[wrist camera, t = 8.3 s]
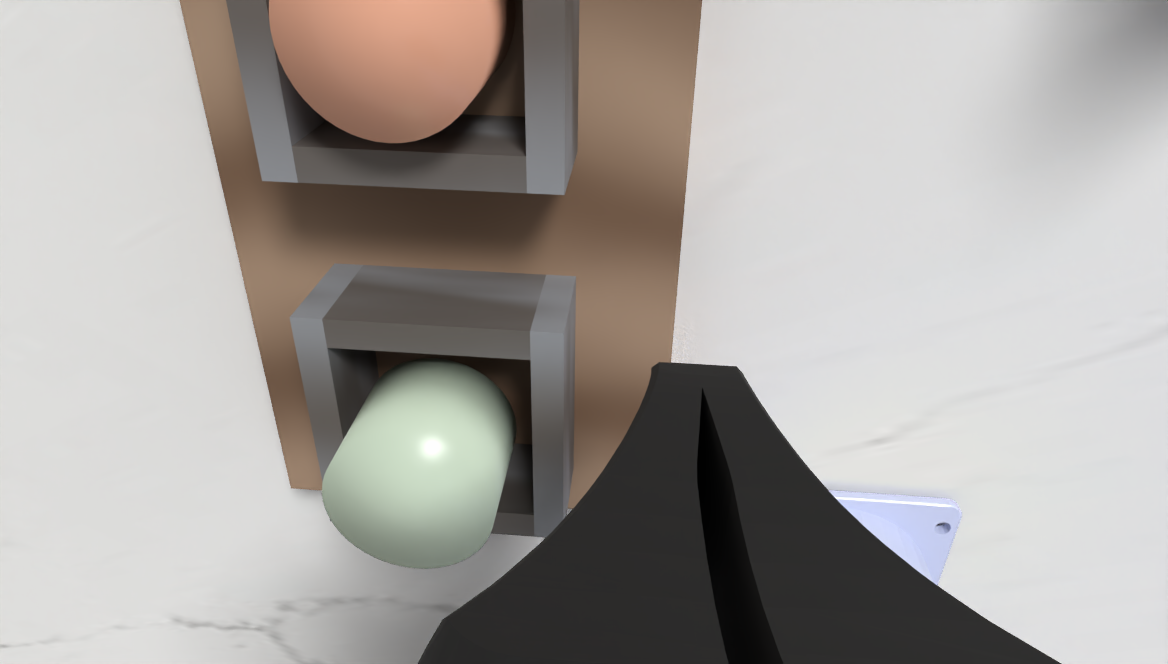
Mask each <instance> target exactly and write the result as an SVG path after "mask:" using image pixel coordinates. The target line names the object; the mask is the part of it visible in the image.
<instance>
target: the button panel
mask: <svg viewBox="0 0 1168 664" xmlns="http://www.w3.org/2000/svg"><path fill="white" fill-rule="evenodd" d="M180 4H181V9H182V13H183V17H184V22H185V26H186V30H187V35H188V39H189V44H190V48H191V52H192V57H193V61H194V65H195V70H196V74H197V79H198V83H199V87H200V92H201V96H202V101H203V105H204V109H205V114H206V118H207V122H208V127H209V131H210V136H211V140H212V144H213V149H214V153H215V157H216V162H217V166H218V171H219V175H220V179H221V184H222V188H223V192H224V197H225V201H226V206H227V210H228V214H229V219H230V223H231V227H232V232H233V236H234V241H235V245H236V249H237V254H238V258H239V262H240V267H241V271H242V276H243V280H244V284H245V289H246V293H247V297H248V302H249V306H250V311H251V315H252V319H253V324H254V328H255V332H256V337H257V341H258V346H259V350H260V354H261V359H262V363H263V368H264V372H265V376H266V381H267V385H268V389H269V394H270V398H271V403H272V407H273V411H274V416H275V420H276V424H277V429H278V433H279V438H280V442H281V446H282V451H283V455H284V459H285V464H286V468H287V473H288V477H289V481H290V486H291V488H296V489H309V490H322V483H323V479H324V475H325V473H326V470H327V468H328V466H329V464H330V463H331V461H332V459H333V457H334V456H335V454H336V452H337V450H338V448H339V447H340V445H341V443H342V441H343V439H344V438H345V436H346V434H347V432H348V431H349V429H350V427H351V425H352V423H353V422H354V420H355V418H356V416H357V415H358V413H359V411H360V409H361V407H362V406H363V404H364V402H365V400H366V398H367V397H368V395H369V393H370V391H371V390H372V388H373V386H374V385H375V383H376V382H377V380H378V379H379V378H380V377H381V376H382V375H383V374H384V373H386V372H387V371H388V370H390V369H391V368H393V367H395V366H397V365H399V364H401V363H404V362H407V361H411V360H415V359H424V358H437V359H446V360H450V361H454V362H458V363H461V364H464V365H467V366H469V367H471V368H473V369H475V370H477V371H478V372H480V373H482V374H483V375H485V376H486V377H488V378H489V379H490V380H491V381H493V382H494V383H495V384H496V385H497V386H498V387H499V388H500V389H501V391H502V392H503V393H504V394H505V396H506V397H507V399H508V401H509V402H510V404H511V407H512V409H513V411H514V415H515V418H516V426H517V430H516V439H515V443H514V447H513V451H512V455H511V459H510V462H509V466H508V470H507V474H506V478H505V482H504V486H503V490H502V493H501V497H500V501H499V505H498V509H497V513H496V517H495V521H494V524H493V528H492V531H491V533H495V534H508V535H521V536H534V537H547V536H548V535H549V534H550V533H551V532H552V531H553V530H554V529H555V528H556V527H557V526H558V525H559V524H560V522H561V521H562V520H563V519H564V518H565V517H566V516H567V509H568V508H570V509H573V508H574V507H575V506H576V505H577V504H578V502H579V501H580V500H581V499H582V497H583V496H584V495H585V494H586V492H587V491H588V490H589V489H590V487H591V486H592V485H593V483H594V482H595V481H596V479H597V478H598V477H599V475H600V474H601V472H602V471H603V470H604V468H605V467H606V465H607V464H608V462H609V460H610V459H611V457H612V456H613V454H614V453H615V451H616V449H617V448H618V446H619V445H620V443H621V442H622V440H623V438H624V436H625V435H626V433H627V431H628V429H629V427H630V425H631V423H632V421H633V419H634V417H635V415H636V413H637V412H638V410H639V407H640V405H641V403H642V400H643V398H644V396H645V393H646V390H647V387H648V384H649V381H650V377H651V368H652V367H653V366H654V365H656V364H657V363H658V362H668V363H671V354H672V342H673V331H674V319H675V308H676V296H677V285H678V273H679V261H680V250H681V238H682V227H683V215H684V204H685V192H686V180H687V169H688V157H689V146H690V134H691V123H692V111H693V100H694V88H695V76H696V65H697V53H698V42H699V30H700V19H701V7H702V0H515V27H514V33H513V38H512V41H511V45H510V48H509V50H508V53H507V55H506V57H505V59H504V61H503V63H502V64H501V66H500V67H499V69H498V70H497V71H496V73H495V74H494V75H493V76H492V77H491V79H490V80H489V81H488V82H487V83H486V85H485V86H484V87H483V88H482V89H481V91H480V92H479V93H478V94H477V96H476V97H475V98H474V99H473V100H472V102H471V103H470V104H469V105H468V106H467V108H466V109H465V110H464V111H463V112H462V114H461V115H460V116H459V117H458V118H457V119H456V120H455V121H453V122H452V123H451V124H450V125H449V126H447V127H446V128H444V129H443V130H441V131H440V132H438V133H435V134H433V135H431V136H429V137H427V138H423V139H420V140H417V141H412V142H406V143H383V142H375V141H371V140H367V139H363V138H360V137H357V136H355V135H352V134H350V133H348V132H346V131H344V130H342V129H340V128H338V127H336V126H335V125H333V124H332V123H330V122H329V121H327V120H325V119H324V118H323V117H322V116H321V115H319V114H318V113H317V112H316V111H315V110H314V109H313V108H312V107H311V106H310V105H309V104H308V103H307V102H306V101H305V100H304V99H303V98H302V97H301V95H300V94H299V93H298V92H297V90H296V89H295V88H294V86H293V85H292V83H291V81H290V80H289V78H288V77H287V75H286V73H285V71H284V69H283V67H282V65H281V63H280V61H279V58H278V55H277V53H276V50H275V47H274V43H273V39H272V35H271V30H270V22H269V0H180ZM330 521H331V519H330Z"/></svg>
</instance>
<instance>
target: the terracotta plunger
mask: <svg viewBox="0 0 1168 664" xmlns="http://www.w3.org/2000/svg"><path fill="white" fill-rule="evenodd" d="M269 22H270V30H271V35H272V39H273V43H274V47H275V50H276V53H277V55H278V58H279V61H280V63H281V65H282V67H283V69H284V71H285V73H286V75H287V77H288V78H289V80H290V81H291V83H292V85H293V86H294V88H295V89H296V90H297V92H298V93H299V94H300V95H301V97H302V98H303V99H304V100H305V101H306V102H307V103H308V104H309V105H310V106H311V107H312V108H313V109H314V110H315V111H316V112H317V113H318V114H319V115H321V116H322V117H323V118H324V119H325V120H327V121H329V122H330V123H332V124H333V125H335V126H336V127H338V128H340V129H342V130H344V131H346V132H348V133H350V134H352V135H355V136H357V137H360V138H363V139H367V140H371V141H375V142H383V143H406V142H412V141H417V140H420V139H423V138H427V137H429V136H431V135H433V134H435V133H438V132H440V131H441V130H443V129H444V128H446V127H447V126H449V125H450V124H451V123H452V122H453V121H455V120H456V119H457V118H458V117H459V116H460V115H461V114H462V112H463V111H464V110H465V109H466V108H467V106H468V105H469V104H470V103H471V102H472V100H473V99H474V98H475V97H476V96H477V94H478V93H479V92H480V91H481V89H482V88H483V87H484V86H485V85H486V83H487V82H488V81H489V80H490V79H491V77H492V76H493V75H494V74H495V73H496V71H497V70H498V69H499V67H500V66H501V64H502V63H503V61H504V59H505V57H506V55H507V53H508V50H509V48H510V45H511V41H512V38H513V33H514V27H515V0H269Z"/></svg>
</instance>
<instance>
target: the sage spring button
mask: <svg viewBox="0 0 1168 664" xmlns="http://www.w3.org/2000/svg"><path fill="white" fill-rule="evenodd" d="M516 430H517V426H516V418H515V415H514V411H513V409H512V407H511V404H510V402H509V401H508V399H507V397H506V396H505V394H504V393H503V392H502V391H501V389H500V388H499V387H498V386H497V385H496V384H495V383H494V382H493V381H491V380H490V379H489V378H488V377H486V376H485V375H483V374H482V373H480V372H478V371H477V370H475V369H473V368H471V367H469V366H467V365H464V364H461V363H458V362H454V361H450V360H446V359H437V358H424V359H415V360H411V361H407V362H404V363H401V364H399V365H397V366H395V367H393V368H391V369H390V370H388V371H387V372H386V373H384V374H383V375H382V376H381V377H380V378H379V379H378V380H377V382H376V383H375V385H374V386H373V388H372V390H371V391H370V393H369V395H368V397H367V398H366V400H365V402H364V404H363V406H362V407H361V409H360V411H359V413H358V415H357V416H356V418H355V420H354V422H353V423H352V425H351V427H350V429H349V431H348V432H347V434H346V436H345V438H344V439H343V441H342V443H341V445H340V447H339V448H338V450H337V452H336V454H335V456H334V457H333V459H332V461H331V463H330V464H329V466H328V468H327V470H326V473H325V475H324V479H323V483H322V497H323V502H324V506H325V509H326V511H327V514H328V516H329V518H330V519H331V521H332V523H333V524H334V526H335V527H336V528H337V529H338V531H339V532H340V533H341V534H342V535H343V536H344V537H345V538H346V539H347V540H348V541H350V542H351V543H352V544H353V545H355V546H356V547H357V548H359V549H360V550H362V551H364V552H365V553H367V554H369V555H371V556H373V557H375V558H377V559H380V560H382V561H385V562H388V563H391V564H394V565H399V566H403V567H409V568H422V569H429V568H440V567H446V566H449V565H453V564H456V563H459V562H461V561H463V560H465V559H467V558H469V557H471V556H472V555H473V554H475V553H476V552H477V551H478V550H480V548H481V547H482V546H483V545H484V544H485V543H486V541H487V539H488V538H489V536H490V534H491V531H492V528H493V524H494V521H495V517H496V513H497V509H498V505H499V501H500V497H501V493H502V490H503V486H504V482H505V478H506V474H507V470H508V466H509V462H510V459H511V455H512V451H513V447H514V443H515V439H516Z"/></svg>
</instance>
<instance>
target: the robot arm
mask: <svg viewBox="0 0 1168 664" xmlns="http://www.w3.org/2000/svg"><path fill="white" fill-rule="evenodd" d="M961 518H962V512H961V510H960V508H959V506H958V504H957V502H955V501H954V500H952V499H947V498H933V497H919V496H905V495H890V494H876V493H862V492H847V491H833V490H827V488H826V487H825V486H824V485H823V484H822V483H821V482H820V480H819V479H818V478H817V477H816V476H815V475H814V473H813V472H812V471H811V470H810V469H809V468H808V466H807V465H806V464H805V463H804V462H803V460H802V459H801V458H800V457H799V455H798V454H797V453H796V452H795V450H794V449H793V448H792V446H791V445H790V444H789V442H788V441H787V440H786V438H785V437H784V436H783V434H782V433H781V432H780V430H779V429H778V428H777V426H776V425H775V423H774V422H773V421H772V419H771V418H770V416H769V415H768V413H767V412H766V410H765V409H764V407H763V406H762V404H761V403H760V401H759V400H758V398H757V397H756V395H755V393H754V392H753V390H752V389H751V387H750V385H749V384H748V382H747V380H746V379H745V377H744V375H743V373H742V372H741V371H740V370H739V369H738V368H737V367H736V366H719V365H702V364H685V363H668V362H658V363H657V364H656V365H654V366H653V367H652V368H651V377H650V381H649V384H648V387H647V390H646V393H645V396H644V398H643V400H642V403H641V405H640V407H639V410H638V412H637V413H636V415H635V417H634V419H633V421H632V423H631V425H630V427H629V429H628V431H627V433H626V435H625V436H624V438H623V440H622V442H621V443H620V445H619V446H618V448H617V449H616V451H615V453H614V454H613V456H612V457H611V459H610V460H609V462H608V464H607V465H606V467H605V468H604V470H603V471H602V472H601V474H600V475H599V477H598V478H597V479H596V481H595V482H594V483H593V485H592V486H591V487H590V489H589V490H588V491H587V492H586V494H585V495H584V496H583V497H582V499H581V500H580V501H579V502H578V504H577V505H576V506H575V507H574V508H573V509H572V510H571V512H570V513H569V514H568V515H567V516H566V517H565V518H564V519H563V520H562V521H561V522H560V524H559V525H558V526H557V527H556V528H555V529H554V530H553V531H552V532H551V533H550V534H549V535H548V536H547V537H546V538H545V539H544V540H543V541H542V542H541V543H540V544H539V545H538V546H537V547H536V548H535V549H533V550H532V551H531V552H530V553H529V554H528V555H527V556H525V557H524V558H523V559H522V560H521V561H520V562H519V563H517V564H516V565H515V566H514V567H513V568H512V569H511V570H509V571H508V572H507V573H506V574H505V575H504V576H503V577H501V578H500V579H499V580H497V581H496V582H495V583H494V584H492V585H491V586H490V587H488V588H487V589H486V590H484V591H483V592H481V593H480V594H479V595H477V596H476V597H474V598H473V599H472V600H470V601H469V602H467V603H466V604H464V605H463V606H462V607H460V608H459V609H457V610H456V611H455V612H453V613H452V614H450V615H449V616H447V617H446V618H444V619H443V620H442V622H441V623H440V625H439V627H438V628H437V630H436V632H435V633H434V635H433V637H432V639H431V640H430V642H429V644H428V646H427V647H426V649H425V651H424V653H423V655H422V657H421V659H420V661H419V662H418V664H1061V663H1059V662H1058V661H1056V660H1054V659H1052V658H1051V657H1049V656H1047V655H1046V654H1044V653H1042V652H1041V651H1039V650H1037V649H1036V648H1034V647H1032V646H1030V645H1029V644H1027V643H1025V642H1024V641H1022V640H1020V639H1019V638H1017V637H1015V636H1013V635H1012V634H1010V633H1008V632H1007V631H1005V630H1003V629H1002V628H1000V627H998V626H997V625H995V624H993V623H992V622H990V621H988V620H987V619H985V618H984V617H982V616H981V615H979V614H978V613H976V612H975V611H973V610H972V609H970V608H969V607H968V606H966V605H965V604H963V603H962V602H960V601H959V600H957V599H956V598H954V597H953V596H951V595H950V594H948V593H947V592H946V591H944V590H943V589H941V588H940V587H939V586H938V583H939V580H940V577H941V574H942V571H943V569H944V566H945V563H946V560H947V557H948V554H949V552H950V549H951V546H952V543H953V540H954V537H955V535H956V532H957V529H958V526H959V523H960V520H961ZM944 522H945V524H943V525H939V526H936V525H937V524H939V523H944Z"/></svg>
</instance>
